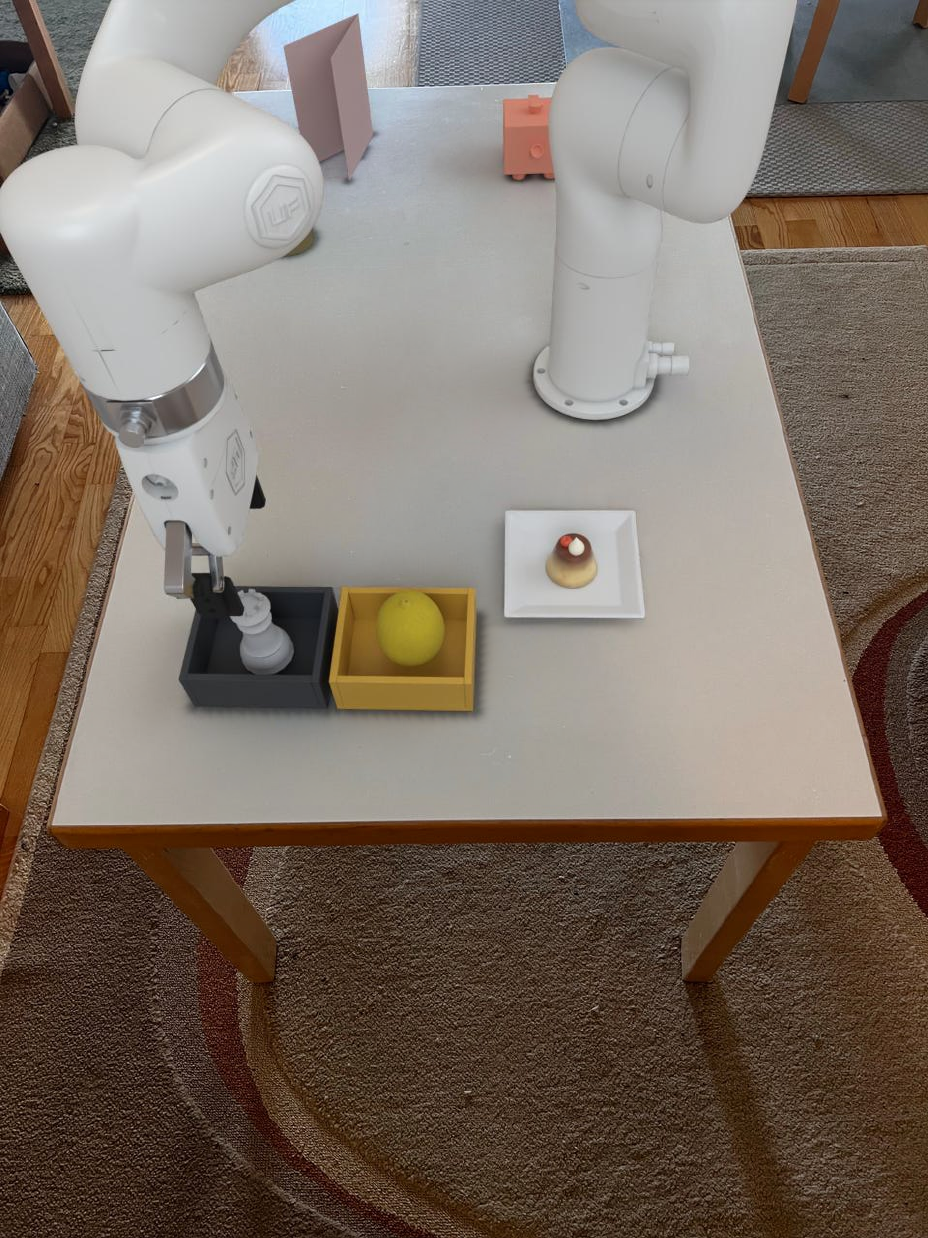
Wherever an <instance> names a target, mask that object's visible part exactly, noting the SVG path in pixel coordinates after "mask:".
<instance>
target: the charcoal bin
mask: <svg viewBox="0 0 928 1238" xmlns="http://www.w3.org/2000/svg"><path fill="white" fill-rule="evenodd" d="M234 586H235V589H236V591H237V593H238V592H240V591H241V590H243V592H244V593H248V592H249V589H255V591H256V593H259V592H260V593H261V594H263V595H264V596H266V597H267V598H268V600H269V601H270V613H271V617H272V620H271V622H272V623H273V624H274V625H276V626H278V627H280V628H282V629H283V630H284V631H285V632H286V633H287V634H288V636H289V637H290V640H291V641H292V643H293V649H294V653H293V656H292V659H291V661H290V662H289V663H288V665H287V666H286V667H285V668H284V669H282V670H280V671H278V672H277V673H274V674H269V675H259V674H254V673H252V672H251V671H249V670H247V669H246V667H245V665H244V664H243V662H242V658H241V656H240V644H241V641H242V639H243V632H242V631H240V629H239V628H238V626H237V623H235V622H233V620H232V619H231V617H230V616H226V617H225V618H221V619H213V618H208V617H206V616H201V615H199V614H198V612H197V610H196V609H195V610H194V615H193V619H192V623H191V626H190V631H189V636H188V639H187V643H186V648H185V650H184V651H185V652H184V654H183V655H184V656H183V659H182V663H181V668H180V671H179V675H178V681H179V684H180V685H181V686H182V689H183V690H184V692H185V693H186V695H187V697H188V698H189V700H190V701H191V703H192V705H193V707H195V708H255V709H257V708H259V709H262V708H263V709H315V710H316V709H317V710H318V709H321V710H322V709H323V710H326V709H328V708H329V703H330V702H329V701H330V694H331V687H330V683H329V677H330V670H331V663H332V655H333V648H334V641H335V634H336V626H337V619H338V612H339V606H338V603H337V599H336V595H335V593H334V589H333V586H287V585H286V586H285V585H284V586H283V585H282V586H280V585H279V586H278V585H277V586H275V585H272V586H271V585H269V586H267V585H266V586H265V585H252V586H251V585H234Z"/></svg>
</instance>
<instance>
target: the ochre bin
mask: <svg viewBox="0 0 928 1238" xmlns="http://www.w3.org/2000/svg"><path fill="white" fill-rule="evenodd" d="M407 590H411V591H417V592H420V593H423V594H425V595H426V596H428V597H429V598H430V599H431V600H432V601H433V602H434V603H435V604H436V605H437V607H438V609H439V611H440V613H441V615H442V617H443V622H444V627H445V632H444V640H443V643H442V646H441V648H440V651H439V652H438V653H437V654H436V656H435V657H434V658H433V659H431V660H430V661H429V662H427V663H425V664H423V665H420V666H416V667H407V666H402V665H399V664H397V663H395V662H393V661H392V660H390V659H389V658H388V657H387V656H386V655H385V653H384V652H383V650H382V649H381V647H380V645H379V642H378V639H377V635H376V621H377V616H378V613H379V610H380V608H381V606H382V605H383V603H384V602H385V601H386V600H387V599H388V598H389V597H390V596H392V595H394V594H395V593H398V592H401V591H407ZM476 598H477V597H476V588H475V587H399V586H397V587H396V586H395V587H390V586H389V587H387V586H386V587H385V586H383V587H381V586H342V587H341V591H340V599H339V606H338V611H339V612H338V619H337V626H336V634H335V641H334V648H333V655H332V663H331V670H330V677H329V683H330V687H331V688H330V691H331V692H332V696H333V700H334V702H335V705H336V708H337V709H338V710H380V711H381V710H383V711H384V710H385V711H387V710H389V711H391V710H392V711H445V712H446V711H447V712H448V711H450V712H453V711H454V712H474V701H475V699H474V697H475V673H476V672H475V671H476V670H475V669H476V645H477V643H476V641H477V601H476Z"/></svg>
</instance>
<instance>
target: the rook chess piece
mask: <svg viewBox="0 0 928 1238" xmlns="http://www.w3.org/2000/svg"><path fill="white" fill-rule="evenodd" d="M238 595H239V597H240V599H241V601H242V604H243V606H244V613H243V615H242V616H230V617H231V619H232V620H233V622H235V623H237V626H238V628H239V629H240V631H242V632H243V639H242V641H241V644H240V656H241V658H242V662H243V664H244V665H245V667H246V669H247V670H249V671H251V672H252V673H254V674H259V675H269V674H274V673H277V672H278V671H280V670H282V669H284V668H285V667H286V666H287V665H288V663H289V662H290V661H291V659H292V656H293V653H294V649H293V643H292V641H291V640H290V637H289V636H288V634H287V633H286V632H285V631H284V630H283V629H282V628H280V627H278V626H276V625H274V624H273V623H272V622H271V620H272V617H271V613H270V601H269V600H268V598H267V597H266V596H264V595H263V594H261V593H260V592H259V593H256V591H255V589H249V592H248V593H244V592H243V590H241V591H240V592H238Z"/></svg>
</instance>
